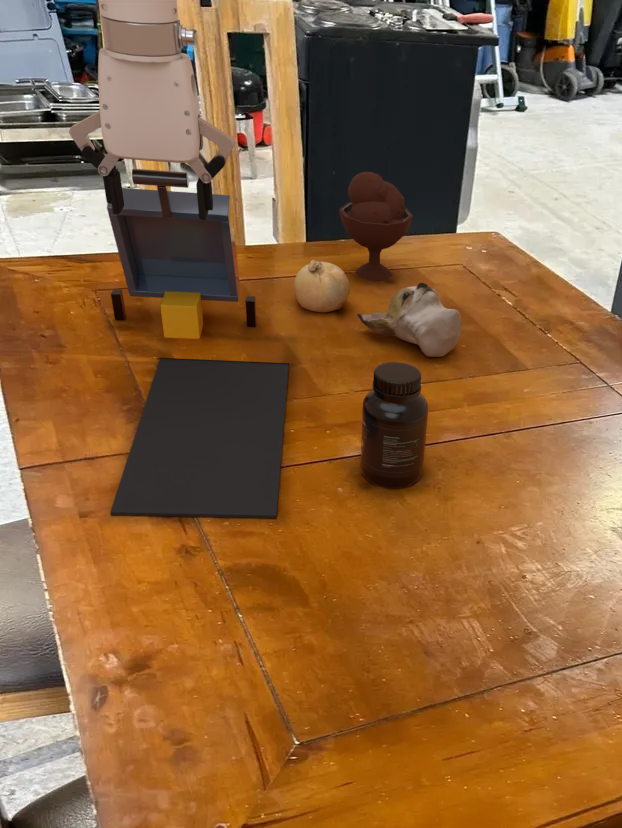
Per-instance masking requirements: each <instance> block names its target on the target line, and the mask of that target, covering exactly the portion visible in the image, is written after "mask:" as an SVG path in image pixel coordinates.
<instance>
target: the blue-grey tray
mask: <svg viewBox="0 0 622 828" xmlns="http://www.w3.org/2000/svg"><path fill="white" fill-rule="evenodd" d="M131 180H132V183H133V185H142V186H155V187H156V189H145V188H144V189H143V188H131V187H130V188H129V187H122V191H123V199H124V207H123V209H122V211H121V213H119V214H113V210H112V204H109V203H106V210H107V214H108V219H109V221H110V226H111V230H112V233H113V237H114V240H115V245H116V248H117V252H118V256H119V259H120V265H121V269H122V271H123V275H124V279H125V284H126V287H127V290H128V294H129V297H137V298H138V297H139V298H156V299H157V298H158V299H163V296H164V294H165V291H173V292H191V293H201V301H212V302H232V303H233V302H234V303H239V301H240V300H239V298H240V285H241V284H240V283H241V282H240V281H241V280H240V274H239V273H240V272H239V264H238V263H239V262H238V255H237V246H236V237H235V227H234V220H233V212H232V209H233V208H232V202H231V195H230V194H218V193H217V194H215V193H212V195H213V210H208V215H207V218H206V220H201V218H199V211H198V199H197V192H191V191H190V192H187V191H173V190H169V188H168V187H170V188H185V189H188V188H189V186H190V179H189V173H188V172H187V171H174V170H160V169H159V170H158V169H146V168H132V170H131Z"/></svg>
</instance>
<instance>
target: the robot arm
mask: <svg viewBox="0 0 622 828" xmlns="http://www.w3.org/2000/svg"><path fill="white" fill-rule="evenodd" d="M98 7H99V15H100V16H99V17H100V21H101V31H102V38H103V47H101V48H100V49H99V51H98V60H97V61H98V63H97V64H98V65H97V81H98V82H97V83H98V86H97V87H98V103H99V105H98V106H99V111H97V112H95V113H93V114H90V115H89V116H88V117H85V118H83V119H82V120H80V121H78V122H76V123H75V124H73V125H72V126H71V127H70V128H69V130H68V133H69V135H70V137H71V139H73V141H74V143H75V144H76V146H77V148H78V149H79V150H80V152H81V154H82V156H83V157H84V158H85V159H86V160H87V161H88V162H89V163H90V164H91V165H92V166H93V167H94V168H95V169H96V170H97V172H98V174H99V175H100V176H102V181H103V187H104V194H105V200H106V204H108V203H109V204H112V210H113V214H119V213H121V211H122V209H123V207H124V199H123V191H122V188H123V184H122V179H121V177H122V176H121V171H119V169H118V168H117V165H116V164H117V163H118V161H119V160H120V159H122V160H133V161H146V162H158V163H159V162H161V163H173V164H187V166H189V167H190V168H191V170H192V171H193V172H194V174H196V176H197V177H198V178H197V180H196V181H197V182H196V184H195V185H196V193H197V199H198V211H199V218H201V220H206V218H207V215H208V210H213V195H212V194H213V184H212V183H213V182H212V180H213V179H214V178H215V177H216V175H218V174H219V173H220V172H221V171H222V169H223V168H224V167H225V165H226V163H227V161H228V159H229V157H230V155H231V153H232V151H233V149H234V147H235V139H234V137H232V136H230V135H229V134H227V133H226V132H224V131H222V130H221V129H219V128H218V127H216V126H215V125H213V124H212V123H210V122H208V121H207V120H205V119H204V118H202V117H201V108H200V101H199V94H198V93H199V92H198V89H197V88H198V87H197V83H196V77H195V73H194V68H193V64H192V60H191V57H190V55H189V54H187V53H184V52H182V50H183V48H184V47H188V46H195V45H196V44H195V43H196V38H195V37H196V35H195V30H194V29H187V27H183V24H181V20H180V19H179V12H178V11H179V9H178V0H98ZM100 128H101V135H102V142H103V146H104V149H105V152H107V153H106V154H104V152H102V151H101V150H100V149H99V148H98V147H97V146H96V145H95V144H93V142H92V141H91V138H90V136H89V134H91V133H92V132H95V131H96V130H98V129H100ZM204 138H206V139H207V140H209V141H211V142H212V143H213V144H215V145H216V146H217V147H218V150H217V152H216V154H215V155H214V156H213V157H212V158H211V159H210V160H209V161H208V159H206V157H205V156H204V155H203V153H202V152H201V151H202V150H203V149H204Z"/></svg>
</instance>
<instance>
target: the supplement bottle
mask: <svg viewBox="0 0 622 828" xmlns="http://www.w3.org/2000/svg"><path fill="white" fill-rule="evenodd" d="M421 392H422V373H421V371H420V370H419V368H417V367H416V366H414V365H412V364H409V363H406V362H402V361H401V362H400V361H398V362H397V361H388V362H383V363H381V364H379V365H376V367H375V368H374V370H373V380H372V388H371V390H369V391H368V392H367V394H366V395H365V396H364V397H363V400H362V407H361V411H362V412H361V435H360V436H361V440H360V442H361V444H360V472H361V473H362V476H363V477H364V478H365V479H366V480H367V481H369V482H370V483H371V484H373V485H375V486H378V487H381V488H385V489H402V488H407V487H409V486H412V485H414V484H415V483H417V482H418V481H419V480H420V478H421V477H422V475H423V471H424V461H425V451H426V439H427V438H426V437H427V430H428V429H427V428H428V418H429V403H428V401H427V400H426V397H425V396H424V395H423V394H422V393H421Z"/></svg>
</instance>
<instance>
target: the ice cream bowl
mask: <svg viewBox="0 0 622 828" xmlns="http://www.w3.org/2000/svg"><path fill="white" fill-rule="evenodd" d="M347 196H348V198H349V199H350V201H349V202H346V203H345V204H344V205H343V206H341V207H339V216H340V220H341V223H342V226H343V228H344V229H345V230H346V232H347V233H348V235H349V236H350V237H351V238H352V239H353V241H354V242H355V243H357V244H358V245H359V246H361V247H364V248H366V249H367V251H368V262H366V263H363V264H362V265H360V266H359V267H358V268H357V269H356V271H355V273H356V275H357V276H358V277H359V278H361V279H363V280H366V281H374V282H380V281H381V282H382V281H387V280H389V279H390V278H391V277H392V272H391V270H390V269H389V267H387V266H385V265H384V264H382V263H381V253H382V250H385V249H389V248H391V247H393V246H394V245H396V244H397V243H398V242H399V241H400V240H401V239H402V238H403V237H404V236H405V235H406V234H407V233H408V232H409V229H410V228H411V225H412V221H413V217H414V215H413V214H412V212H411V211H410V210H409V209H408V208H407V207H406V203H405V201H406V199H405V198H404V196H403V195H402V193H401V191H400V190H399V189H398V188H397V187H396V186H395V185H394V184H392V183H391V182H389V181H386V180H384V178H383V177H382V175H380V174H378V173H375V172H372V171H362V172H359V173H357V174H355V176H353V177H352V179H351V180H350V183H349V185H348V187H347Z"/></svg>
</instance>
